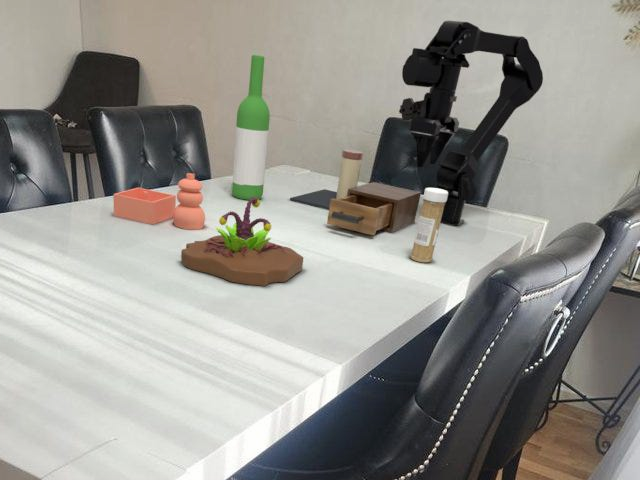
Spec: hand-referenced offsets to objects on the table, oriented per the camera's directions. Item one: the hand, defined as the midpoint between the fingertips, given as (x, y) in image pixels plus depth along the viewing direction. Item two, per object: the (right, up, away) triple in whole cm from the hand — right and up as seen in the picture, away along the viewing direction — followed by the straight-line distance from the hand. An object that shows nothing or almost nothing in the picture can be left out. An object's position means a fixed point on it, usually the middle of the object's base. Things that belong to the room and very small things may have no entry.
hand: (426, 165), depth 153 cm
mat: (-19, -2, +16) cm, 25 cm away
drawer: (-17, -17, -7) cm, 25 cm away
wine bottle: (-43, -4, +9) cm, 44 cm away
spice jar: (-6, -30, -21) cm, 37 cm away
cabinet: (-11, -12, +3) cm, 16 cm away
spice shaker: (-18, -2, +15) cm, 24 cm away
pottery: (-59, -21, -19) cm, 65 cm away
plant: (-41, -37, -38) cm, 67 cm away
